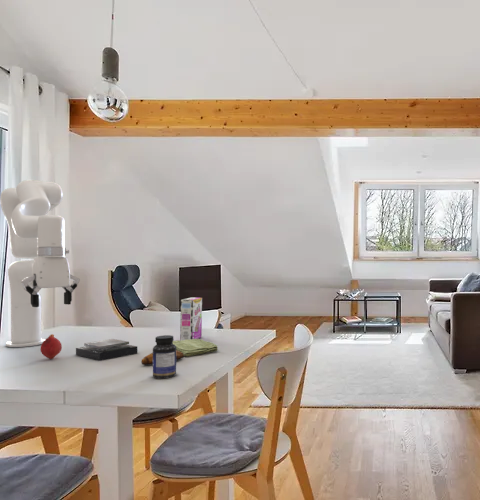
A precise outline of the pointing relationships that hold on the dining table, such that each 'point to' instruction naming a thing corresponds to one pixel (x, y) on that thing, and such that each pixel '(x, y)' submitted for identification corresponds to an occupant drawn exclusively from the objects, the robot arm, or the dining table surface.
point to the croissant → (149, 358)
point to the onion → (51, 347)
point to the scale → (106, 352)
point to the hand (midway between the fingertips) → (51, 305)
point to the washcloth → (194, 347)
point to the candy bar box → (191, 318)
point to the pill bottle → (164, 357)
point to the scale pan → (106, 343)
